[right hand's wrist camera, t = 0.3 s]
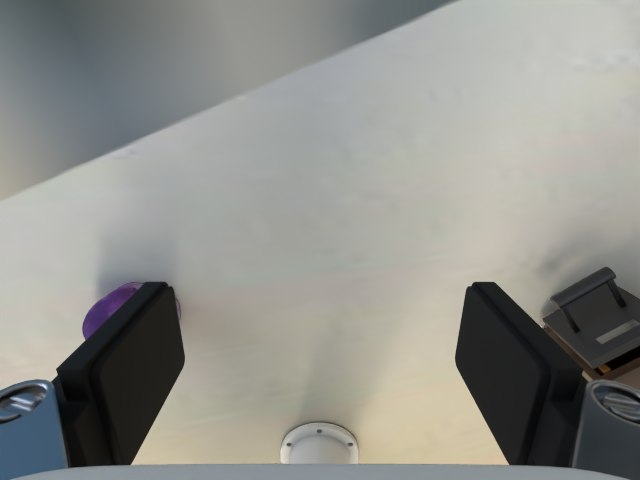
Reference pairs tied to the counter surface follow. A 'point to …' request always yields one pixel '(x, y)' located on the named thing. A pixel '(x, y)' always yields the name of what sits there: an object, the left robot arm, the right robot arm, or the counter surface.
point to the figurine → (109, 307)
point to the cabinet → (630, 374)
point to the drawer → (598, 321)
